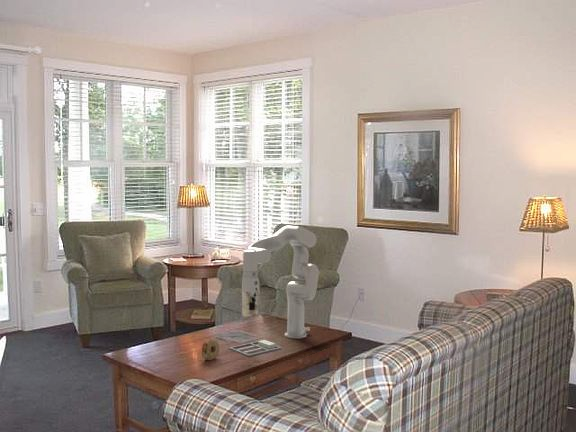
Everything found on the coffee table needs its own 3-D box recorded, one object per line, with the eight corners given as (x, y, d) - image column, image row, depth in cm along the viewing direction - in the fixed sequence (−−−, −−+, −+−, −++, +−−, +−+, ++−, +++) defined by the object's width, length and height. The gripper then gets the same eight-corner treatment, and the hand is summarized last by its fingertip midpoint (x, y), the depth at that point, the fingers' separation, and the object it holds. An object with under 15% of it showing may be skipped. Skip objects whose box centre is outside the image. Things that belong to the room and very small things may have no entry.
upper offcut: (264, 343, 338) (264, 339, 338) (275, 347, 332) (275, 343, 332) (258, 344, 336) (258, 341, 335) (268, 348, 329) (268, 345, 329)
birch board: (254, 313, 329) (254, 290, 328) (257, 314, 326) (258, 291, 325) (242, 315, 323) (242, 292, 322) (245, 316, 321) (245, 293, 320)
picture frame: (216, 338, 354) (240, 346, 339) (216, 334, 354) (240, 342, 339) (238, 333, 366) (263, 341, 350) (238, 329, 365) (263, 336, 350)
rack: (261, 343, 343) (261, 340, 342) (281, 351, 330) (281, 347, 330) (228, 351, 328) (228, 347, 328) (248, 359, 316) (248, 355, 315)
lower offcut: (263, 346, 339) (263, 343, 339) (275, 351, 332) (275, 347, 331) (256, 348, 336) (256, 344, 336) (268, 353, 328) (268, 349, 328)
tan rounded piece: (206, 362, 309) (206, 342, 308) (200, 361, 311) (200, 341, 310) (220, 357, 317) (220, 338, 317) (215, 356, 320) (215, 336, 319)
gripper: (265, 275, 319) (265, 311, 321) (246, 271, 332) (246, 305, 333) (254, 277, 314) (253, 313, 316) (235, 272, 327) (234, 307, 328)
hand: (249, 308), depth 325 cm, fingers closed on birch board, 3 cm apart
